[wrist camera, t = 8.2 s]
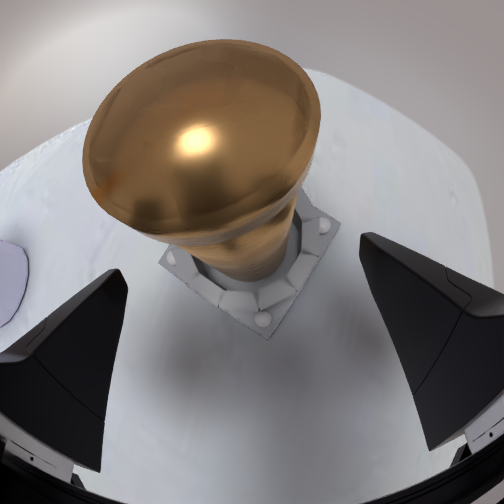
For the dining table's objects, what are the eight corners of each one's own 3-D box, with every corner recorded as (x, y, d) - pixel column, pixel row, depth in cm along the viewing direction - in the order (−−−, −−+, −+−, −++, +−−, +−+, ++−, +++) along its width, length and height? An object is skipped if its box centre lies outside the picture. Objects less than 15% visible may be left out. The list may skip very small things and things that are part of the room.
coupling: (306, 252, 17) (375, 128, 5) (238, 302, 17) (137, 293, 4) (257, 189, 18) (228, 21, 6) (192, 235, 18) (66, 121, 5)
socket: (338, 226, 18) (350, 210, 15) (268, 338, 17) (266, 346, 14) (232, 165, 20) (225, 141, 17) (162, 264, 19) (141, 256, 16)
